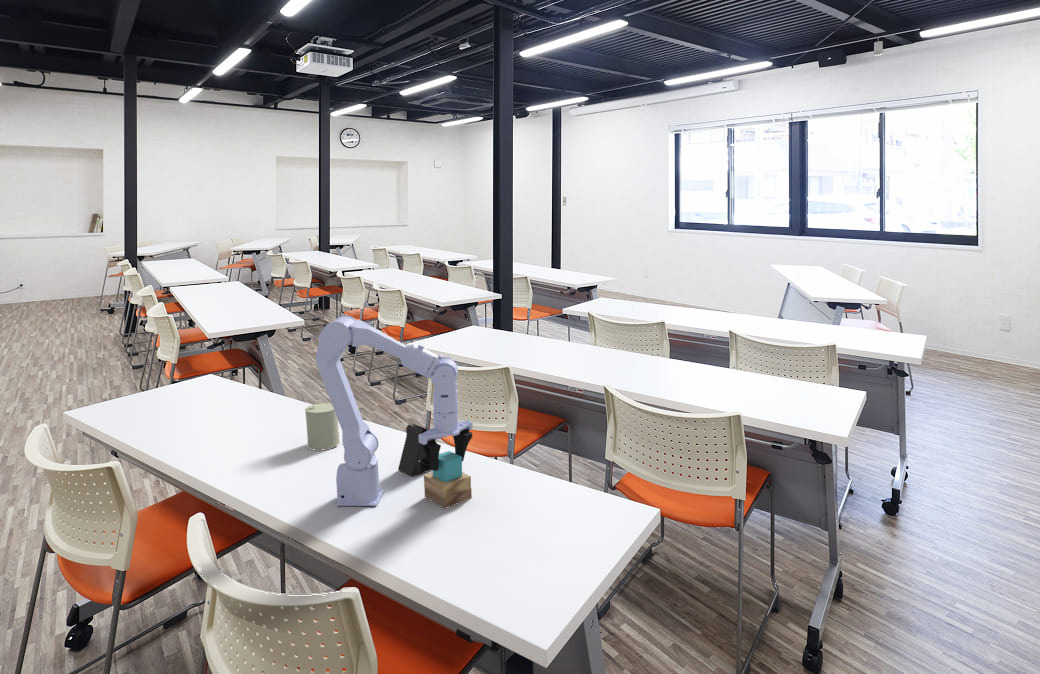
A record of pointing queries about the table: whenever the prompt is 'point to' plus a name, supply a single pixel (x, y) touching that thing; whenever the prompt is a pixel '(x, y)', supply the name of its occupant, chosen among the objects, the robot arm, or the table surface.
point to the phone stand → (413, 452)
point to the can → (322, 426)
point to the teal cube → (448, 466)
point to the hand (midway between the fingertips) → (447, 464)
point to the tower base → (450, 499)
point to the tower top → (447, 485)
